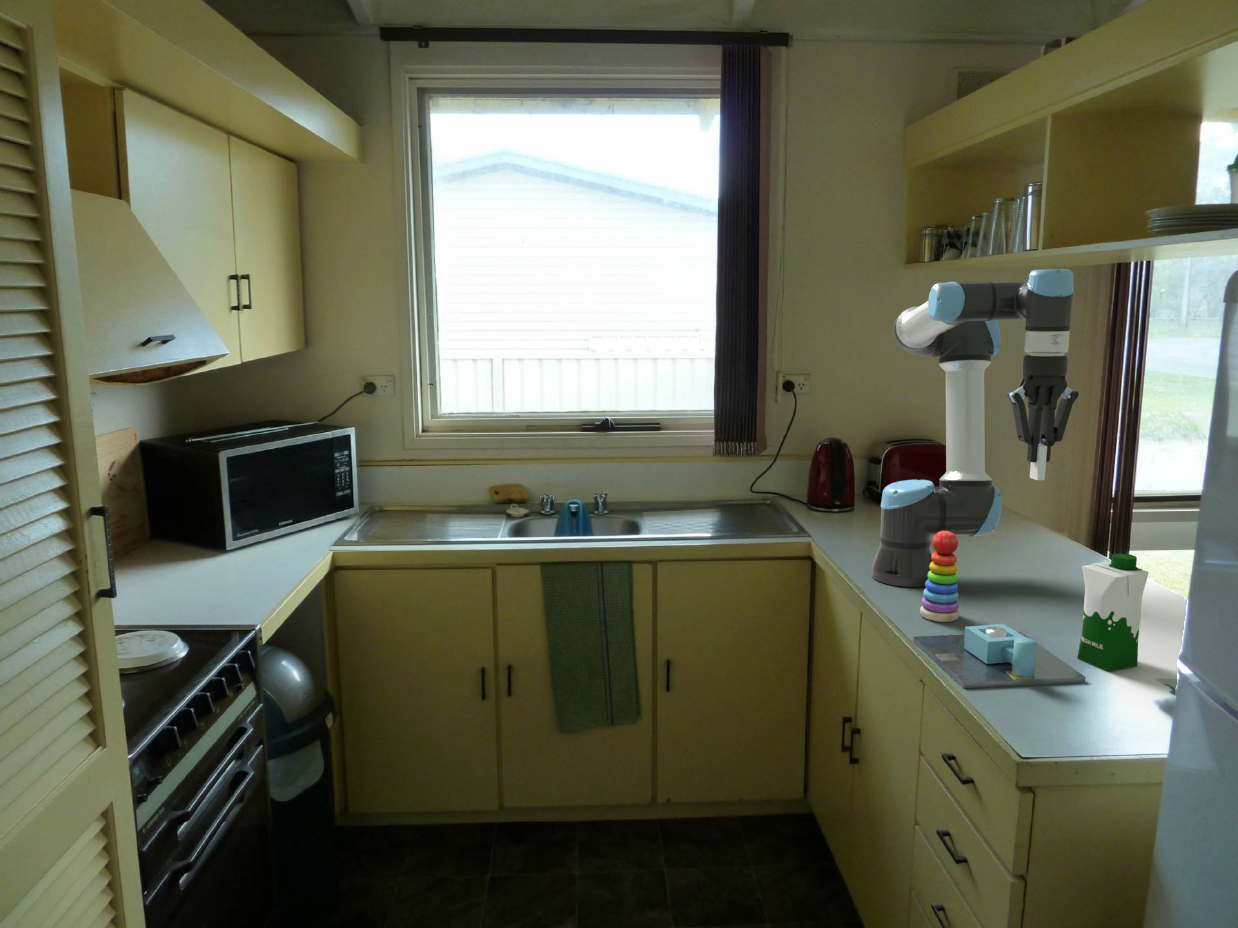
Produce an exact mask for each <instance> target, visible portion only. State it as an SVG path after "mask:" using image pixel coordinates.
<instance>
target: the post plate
mask: <svg viewBox="0 0 1238 928" xmlns="http://www.w3.org/2000/svg"><path fill="white" fill-rule="evenodd" d="M1016 632H1017V633H1019V634H1021V635H1022V636H1024V637H1026V638H1030V639H1032V638H1031V637H1029V636H1028V635H1026V634H1025V633H1024V632H1022V631H1016ZM1006 633H1007V631H1006V630H1005V629H1003V628H1000V627H987V628H986V630H985V634H986V635H987V636H989V637H990V638H998V637H1006ZM912 637H913V638H912V641H913V643H914V644H915V645H916V646H917V647H919V649H921V650H922V652H924V653H925V654H926V655H927V656H928V657H930V659H932V661H934V663H936V664H937V666H939V667H940V668H941V669H942V670H943V671H944V672H945V673H946V674H947V675H949V676H950V677H951V678H952V679H953V680H954V681H955V682H956V683H957V684H958V685H959V686H960V687H961V688H962V689H973V688H974V689H975V688H976V689H979V688H980V689H981V688H995V687H996V688H997V687H998V688H1000V687H1017V686H1019V687H1020V686H1034V685H1035V686H1036V685H1037V686H1039V685H1040V686H1041V685H1057V684H1058V685H1060V684H1076V683H1086V676H1085V675H1083V674H1082V673H1080V672H1079V671H1078V670H1076V669H1075V668H1073V667H1072V666H1071V665H1070V664H1068V663H1066V662H1065V661H1063V660H1062V659H1061V658H1059V657H1058V656H1056V655H1055V654H1054V653H1052V652H1050V651H1049V650H1048V649H1046V648H1045V647H1044V646H1042V645H1040V644H1039V643H1037V645H1036V659H1035V673H1034V676H1033V677H1029V678H1025V677H1019V676H1016V675H1014V674H1013V673H1012V666H1013V664H1012V663H1010V662H1003V663H992V664H986V663H985V662H983V661H982V660H980V659H979V658H978V657H976V656H975V655H973V654H972V653H970V652H969V651H968V650H966V649H965V648H964V638H965V633H963V634H945V635H943V634H942V635H921V636H912Z"/></svg>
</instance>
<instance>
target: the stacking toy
mask: <svg viewBox="0 0 1238 928" xmlns="http://www.w3.org/2000/svg"><path fill="white" fill-rule="evenodd" d="M931 545H932V548H933V550H934V551H935V552H932V555H931V559H932V561H933V562H931V563H930V565H929V568H930V570H931V571H929V573H928V580H927V581H926V582H925V586H924V587H925V588H924V590H923V593H922V594H923V597H922V599H921V606H920V608H919V613H920V615H921V616H922V617H923V618H925V619H927V620H929V621H933V622H939V623H950V622H955V621H956V620H958V619H959V617H960V610H959V607H960V603H959V597H960V596H959V593H958V588H959V585H958V583H957V582H958V579H959V577H958V574H957V571H958V566H957V564H956V563H957V560H958V558H957V556H956V555H955V554H954V553H955V551H957V549H958V546H959V541H958V536H955V535H954V534H953V533H952V532H949V531H940V532H938V533H937V534H936V535H935V536H932V540H931Z"/></svg>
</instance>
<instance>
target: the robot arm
mask: <svg viewBox="0 0 1238 928" xmlns="http://www.w3.org/2000/svg"><path fill="white" fill-rule="evenodd" d="M1074 292H1075V287H1074V273H1073V271H1072V270H1071V269H1068V268H1067V269H1066V268H1065V269H1064V268H1058V269H1057V268H1055V269H1054V268H1052V269H1050V268H1049V269H1033V270H1031V271H1030V273H1029V275H1028V280H1019V281H1017V280H1016V281H1012V280H1011V281H978V282H977V281H976V282H974V281H973V282H972V281H971V282H967V281H966V282H965V281H963V282H959V281H958V282H956V281H948V282H937V283H936V284H934V285H933V286H932V287H931V288H930V292H929V295H928V300H927V301H925V303H923V304H921V305H919V306H911V307H909V308H907V309H905V310H903V311H902V312H900V314H899V315H898V316H897V317H896V319H895V320H894V322H893V328H892V334H893V338H894V340H895V343H896V344H897V345H898V346H899V347H900V349H902V350H904V351H905V352H907V353H909V354H911V355H915V356H918V357H923V358H938V366H939V367H940V368H941V369H942V370H943V372H945V429H946V430H945V443H946V444H945V456H946V457H945V458H946V459H945V460H946V461H945V464H946V465H945V467H946V469H945V470H946V471H945V473H944V474H943V475H942V476H941V477H940V478H939V486H935V484H934V483H933V482H932V481H931V480H929V479H928V480H927V479H919V480H918V479H907V480H906V479H905V480H899V481H896V482H892V483H890V484H888V485H886V486H885V487H884V488H883V490H882V496H881V502H880V508H881V510H880V512H881V513H880V532H879V533H880V537H879V538H880V539H879V540H880V541H879V547H878V549H877V551H876V555H875V557H874V560H873V563H872V566H871V577H872V578H873V579H874V580H875V581H877V582H880V583H882V584H885V585H889V586H890V585H891V586H894V587H895V586H896V587H907V588H911V587H912V588H915V587H916V588H917V587H920V588H921V587H926V586H925V582H926V581H927V580H928V573H929V571H931V570H930V568H929V565H930V563H931V562H933V561H932V559H931V555H932V554H933V552H932V538H933V537H934V536H935V535H936V534H937V533H938V532H940V531H949V532H952V533H953V534H954V535H955V536H956V537H970V538H971V537H976V536H978V537H979V536H980V537H981V536H988V535H990V534H992V532H994V531H995V530H996V528H997V526H998V525H999V521H1000V519H1001V514H1002V507H1003V506H1002V505H1003V501H1002V500H1003V499H1002V495H1001V494H1002V493H1001V491H1000V489H999V488H998V487H997V486H995V485H993V479H992V477H990V476H989V474H987V472H986V469H985V467H986V461H985V460H986V455H985V454H986V452H985V451H986V449H985V446H986V445H985V440H986V439H985V435H986V434H985V433H986V432H985V431H986V430H985V428H986V427H985V423H986V422H985V370H986V369H987V368H988V367H989V366H990V365H991V364H992V358H993V357H995V356H996V355H997V354H998V353H999V351H1000V344H1001V341H1002V340H1001V339H1002V337H1001V329H1000V325H999V322H1002V321H1010V322H1012V321H1016V322H1017V321H1020V322H1021V321H1023V322H1025V328H1024V329H1025V332H1024V343H1023V344H1024V345H1023V351H1024V352H1025V353H1027V354H1025V355H1024V356H1023V357H1022V358H1023V361H1022V380H1021V382H1020V383H1019V387H1018V388H1017V389H1015V390H1014V391H1007V395H1006V396H1007V398H1008V399H1009V401H1010V403H1011V404H1012V405H1011V406H1012V412H1013V418H1014V423H1015V429H1016V435H1017V439H1018V441H1020V442H1023V443H1025V444H1027V454H1026V460H1027V462H1030V467H1029V468H1030V469H1029V478H1030V479H1033V480H1035V481H1045V480H1046V466H1047V463H1049V462H1050V460H1051V454H1052V453H1051V452H1052V451H1051V450H1052V447H1053V446H1055V444H1056V443H1057V442H1060V443H1061V442H1062V440H1063V437H1064V435H1065V432H1066V427H1067V424H1068V421H1069V418H1070V415H1071V411H1072V407H1073V405H1074V403H1075V401H1077V399H1078V397H1079V396H1080V393H1079V392H1078V391H1076V390H1073V389H1071V388H1070V387H1068V382H1067V379H1066V376H1067V373H1068V364H1069V363H1068V362H1069V361H1068V360H1069V357H1068V355H1066V353H1068V352H1069V345H1070V344H1069V343H1070V335H1071V334H1070V333H1071V331H1070V330H1071V321H1072V320H1071V319H1072V310H1073V309H1072V306H1073V295H1074ZM1025 397H1026V399H1027V407H1028V416H1027V410H1026V403H1025V401H1024V400H1025ZM1060 397H1061V398H1060ZM1059 398H1060V401H1059V403H1058V400H1059ZM1056 409H1057V410H1056Z"/></svg>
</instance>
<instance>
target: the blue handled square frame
mask: <svg viewBox="0 0 1238 928" xmlns="http://www.w3.org/2000/svg"><path fill="white" fill-rule="evenodd" d="M987 627H1000V628H1003V629H1005V630H1006V631H1007V633H1006V637H998V638H990V637H989V636H987V635H986V634H985V630H986V628H987ZM1017 632H1018V631H1016V630H1014V629H1013V628H1011V627H1009V626H1008V625H1006V624H1005V623H996V624H984V625H972V626H971V625H970V626H964V634H965V638H964V648H965V649H966V650H968V651H969V652H970V653H972V654H973V655H975V656H976V657H978V658H979V659H980V660H982V661H983V662H985V663H986V664H992V663H1003V662H1010V663H1012V664H1013V666H1012V673H1013V674H1014V675H1016V676H1019V677H1025V678H1029V677H1033V676H1034V673H1035V659H1036V645H1037V641H1036V640H1035V639H1034V638H1033V639H1032V638H1031V637H1029V638H1026V637H1024V636H1022V635H1021V634H1019V633H1017ZM1030 638H1031V639H1030Z"/></svg>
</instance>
